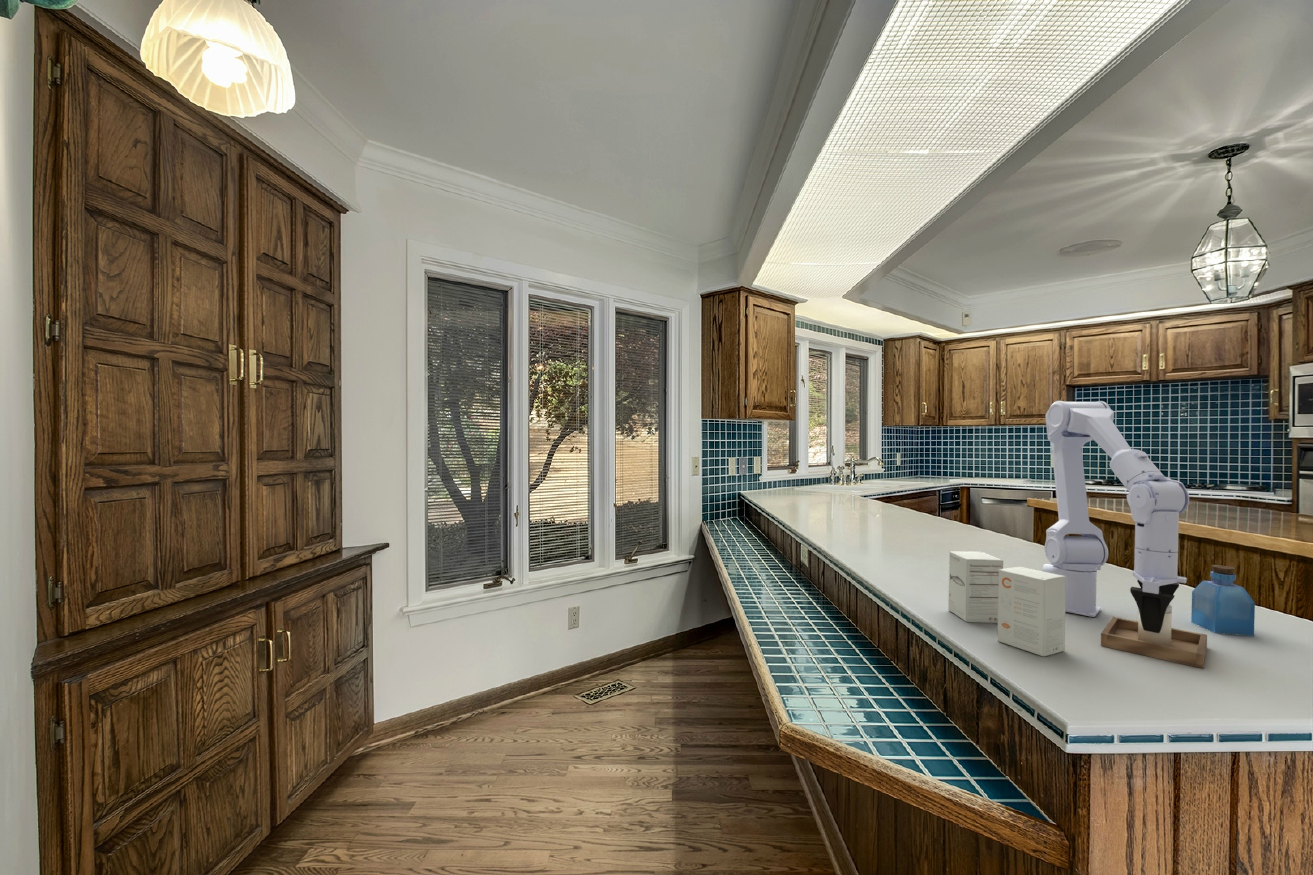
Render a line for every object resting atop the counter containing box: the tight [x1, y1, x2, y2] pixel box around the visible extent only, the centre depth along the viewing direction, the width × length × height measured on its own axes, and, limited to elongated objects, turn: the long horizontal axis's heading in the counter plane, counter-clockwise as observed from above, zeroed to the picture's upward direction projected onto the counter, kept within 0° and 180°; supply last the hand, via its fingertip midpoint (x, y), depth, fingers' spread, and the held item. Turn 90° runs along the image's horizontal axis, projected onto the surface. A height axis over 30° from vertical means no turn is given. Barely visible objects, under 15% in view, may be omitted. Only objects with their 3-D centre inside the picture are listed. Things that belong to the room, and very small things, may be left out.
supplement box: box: [947, 550, 1004, 624], centre depth 115 cm, size 7×7×13 cm
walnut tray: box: [1100, 616, 1208, 669], centre depth 100 cm, size 13×13×2 cm
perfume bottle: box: [1190, 564, 1256, 637], centre depth 110 cm, size 6×6×12 cm
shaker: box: [1137, 604, 1173, 647], centre depth 100 cm, size 4×4×7 cm
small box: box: [997, 566, 1066, 657], centre depth 100 cm, size 8×6×13 cm
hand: (1154, 626), depth 100 cm, fingers open, 7 cm apart
